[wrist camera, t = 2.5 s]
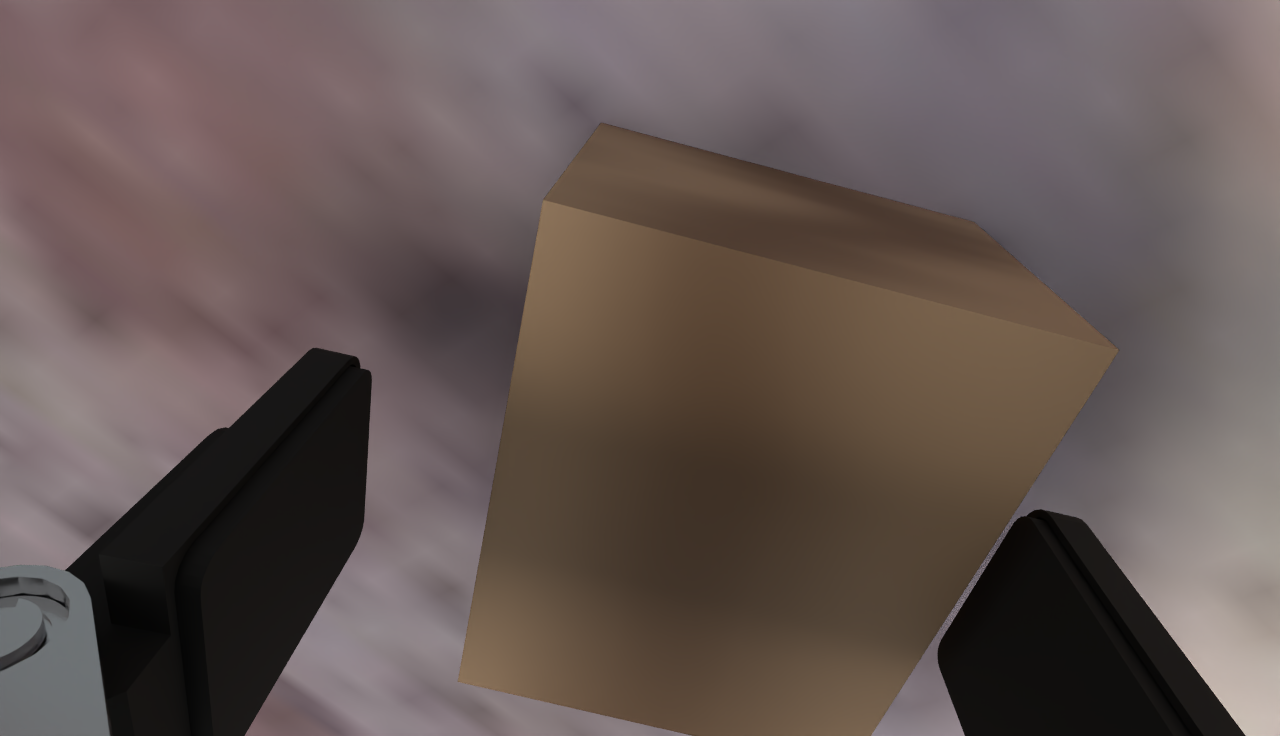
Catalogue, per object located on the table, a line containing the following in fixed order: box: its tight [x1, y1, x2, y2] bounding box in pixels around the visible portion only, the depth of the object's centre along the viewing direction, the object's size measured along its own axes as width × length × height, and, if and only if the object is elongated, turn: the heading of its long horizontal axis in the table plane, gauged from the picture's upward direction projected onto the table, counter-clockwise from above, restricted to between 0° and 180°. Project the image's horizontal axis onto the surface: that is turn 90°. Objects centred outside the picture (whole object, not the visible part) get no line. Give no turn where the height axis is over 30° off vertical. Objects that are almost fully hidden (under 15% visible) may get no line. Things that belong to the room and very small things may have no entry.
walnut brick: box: [458, 123, 1119, 736], centre depth 12 cm, size 6×8×5 cm
